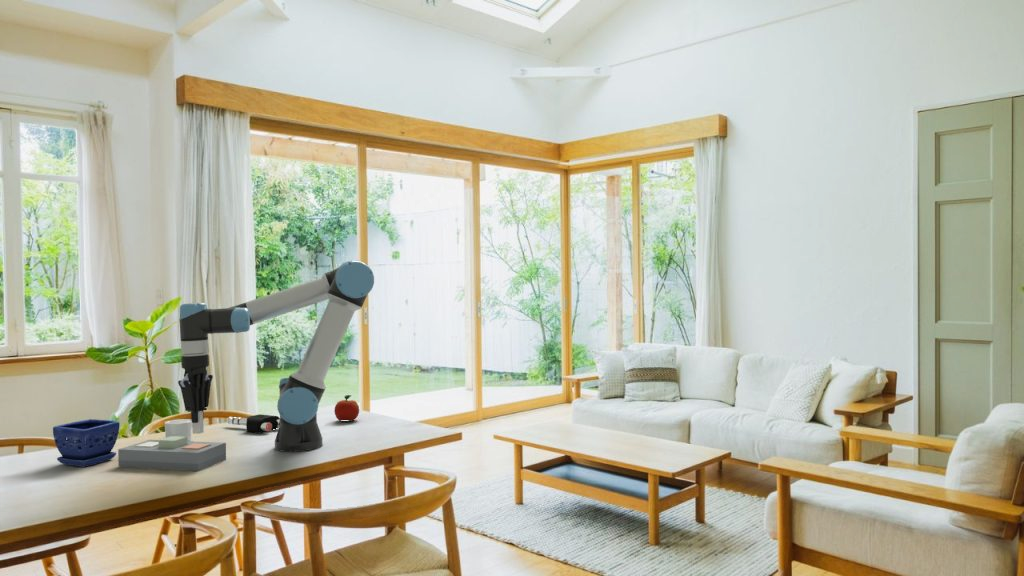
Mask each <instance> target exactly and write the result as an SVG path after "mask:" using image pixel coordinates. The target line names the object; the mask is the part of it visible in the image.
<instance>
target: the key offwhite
mask: <svg viewBox="0 0 1024 576" xmlns="http://www.w3.org/2000/svg"><path fill="white" fill-rule="evenodd" d="M156 446H159V442H146V443H143V444H140V445H136V447H144V448H152V447H156Z"/></svg>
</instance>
